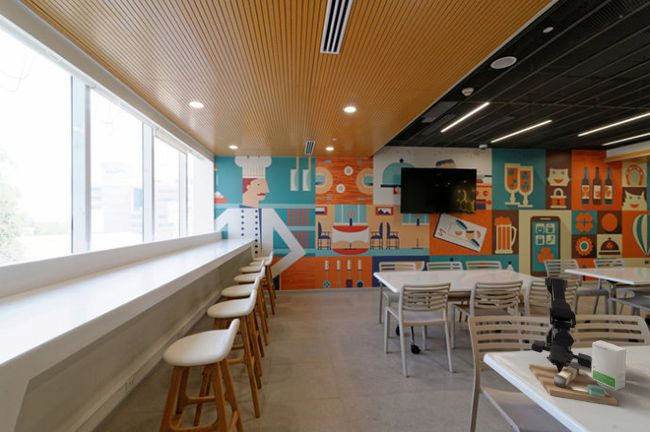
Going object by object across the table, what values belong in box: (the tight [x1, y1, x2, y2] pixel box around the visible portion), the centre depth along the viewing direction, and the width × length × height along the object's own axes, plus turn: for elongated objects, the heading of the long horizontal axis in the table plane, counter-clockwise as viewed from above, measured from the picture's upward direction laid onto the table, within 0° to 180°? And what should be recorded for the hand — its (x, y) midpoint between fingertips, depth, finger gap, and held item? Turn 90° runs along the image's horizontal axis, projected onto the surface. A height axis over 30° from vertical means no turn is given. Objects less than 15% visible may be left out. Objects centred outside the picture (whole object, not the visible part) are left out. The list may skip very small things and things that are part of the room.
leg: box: [554, 363, 580, 388], centre depth 111 cm, size 18×4×3 cm, turn 122°
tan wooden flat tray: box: [528, 363, 618, 407], centre depth 111 cm, size 20×20×5 cm
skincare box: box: [590, 339, 627, 391], centre depth 112 cm, size 8×7×16 cm
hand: (559, 373), depth 114 cm, fingers closed
